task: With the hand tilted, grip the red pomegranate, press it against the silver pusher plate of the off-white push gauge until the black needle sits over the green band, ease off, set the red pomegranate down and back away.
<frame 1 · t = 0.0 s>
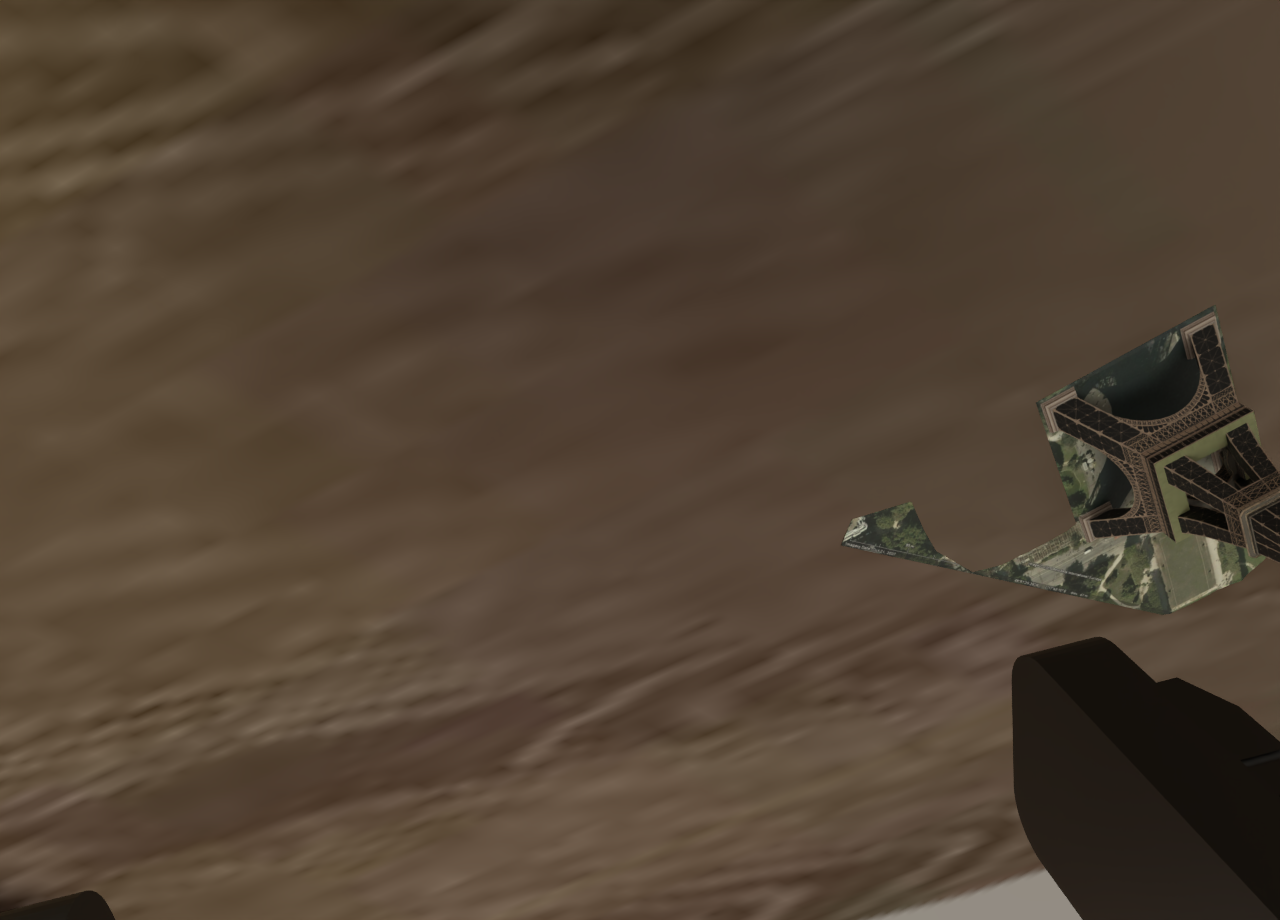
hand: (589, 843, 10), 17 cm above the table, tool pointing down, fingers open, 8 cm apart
eiffel tower figurine: (1117, 433, 31), on the table
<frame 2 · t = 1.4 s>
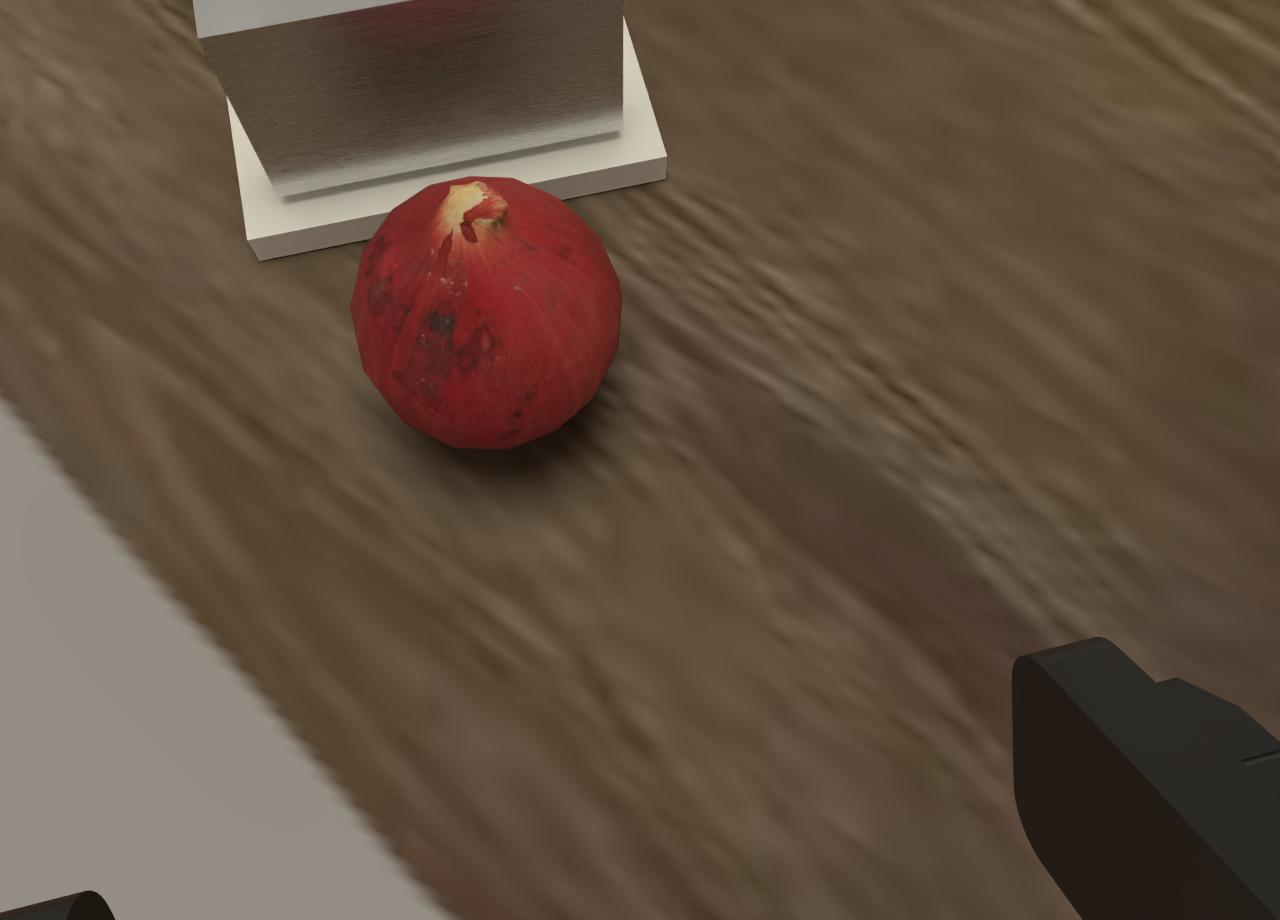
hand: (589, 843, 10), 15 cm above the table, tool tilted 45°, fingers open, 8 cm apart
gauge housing: (452, 158, 30), on the table
red pomegranate: (505, 389, 28), on the table
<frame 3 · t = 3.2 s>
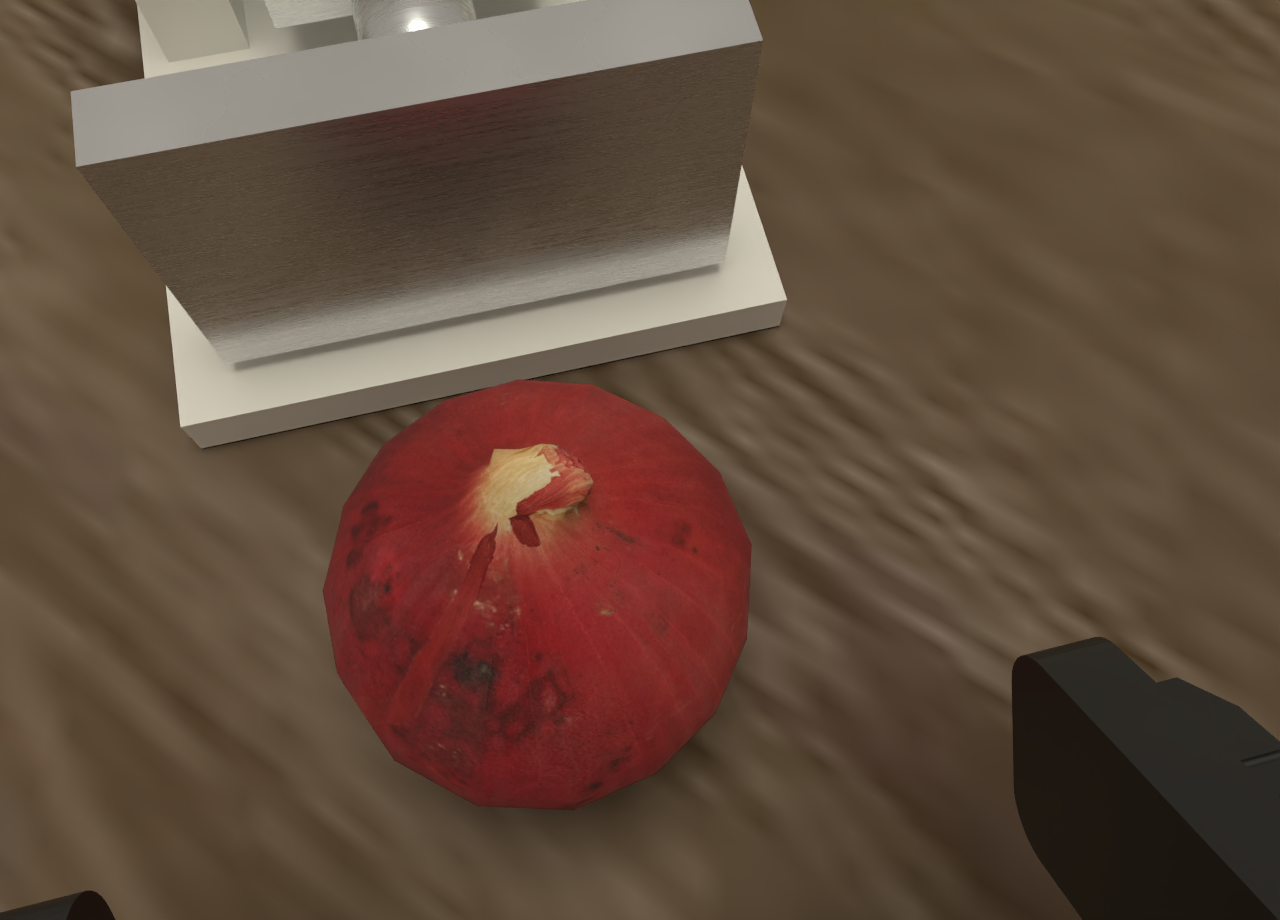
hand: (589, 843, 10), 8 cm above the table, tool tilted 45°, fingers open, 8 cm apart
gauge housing: (478, 294, 21), on the table
red pomegranate: (557, 647, 19), on the table
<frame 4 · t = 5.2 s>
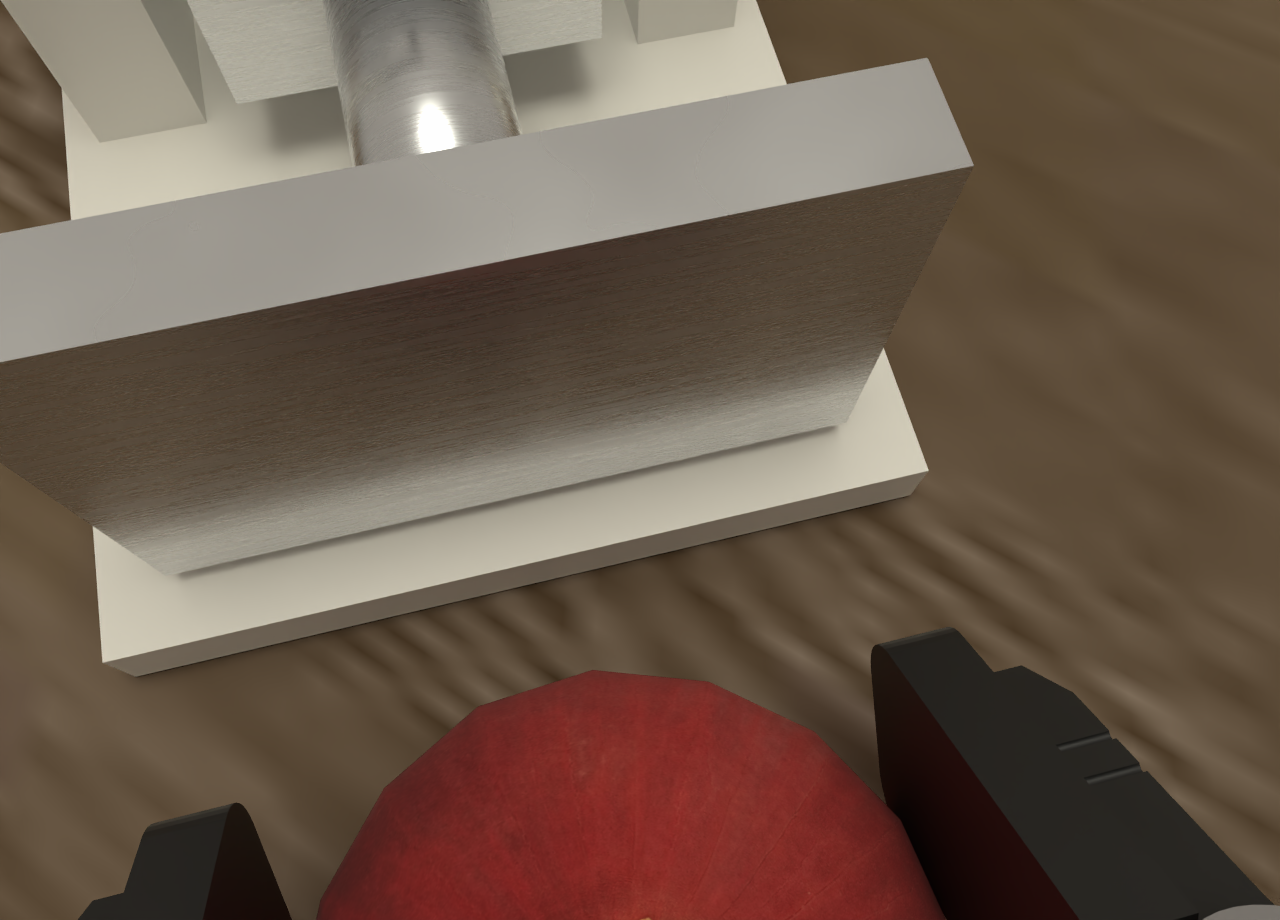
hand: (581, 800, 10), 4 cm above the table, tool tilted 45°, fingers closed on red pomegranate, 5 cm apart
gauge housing: (509, 452, 16), on the table
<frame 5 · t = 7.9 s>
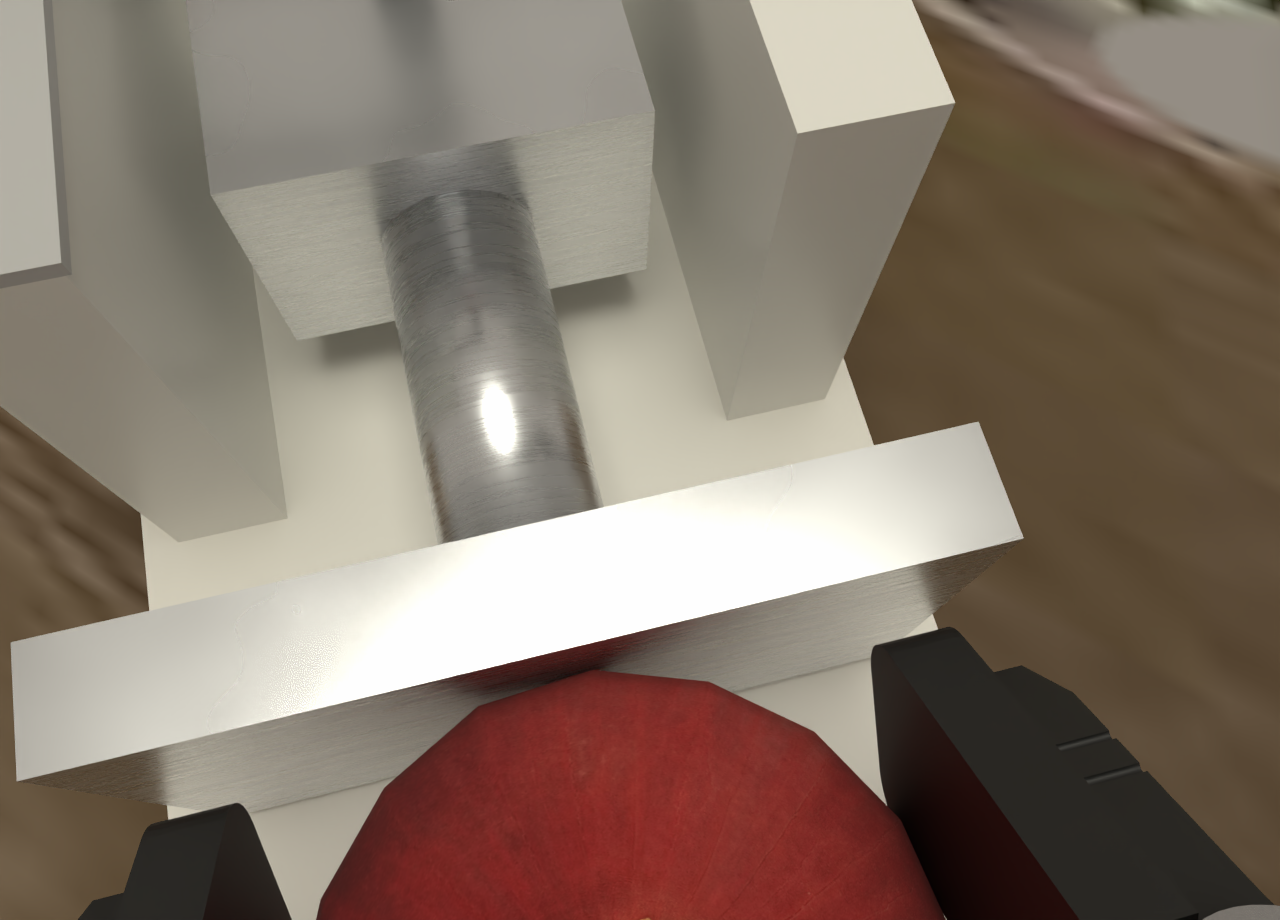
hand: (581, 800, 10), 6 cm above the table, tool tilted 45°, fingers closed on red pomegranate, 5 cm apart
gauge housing: (603, 878, 15), on the table
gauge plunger: (399, 206, 12), point 6 cm above the table, slide at 3.1 cm, touching red pomegranate
when the fingers open (5 cm above the table, at t = 10.5 s): red pomegranate stays where it is, on the table.
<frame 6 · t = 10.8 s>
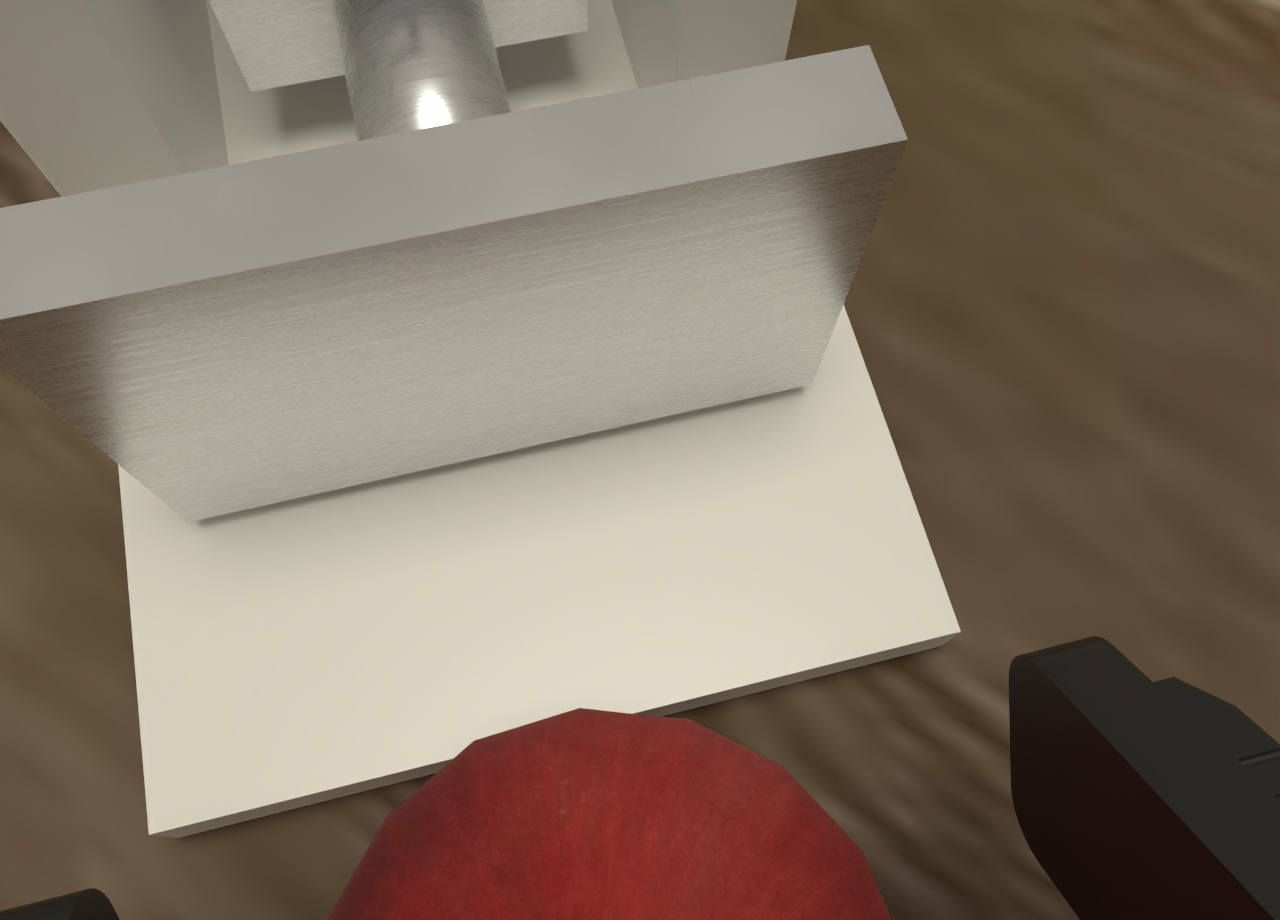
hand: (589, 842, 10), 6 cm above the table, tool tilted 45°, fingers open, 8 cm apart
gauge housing: (544, 603, 16), on the table
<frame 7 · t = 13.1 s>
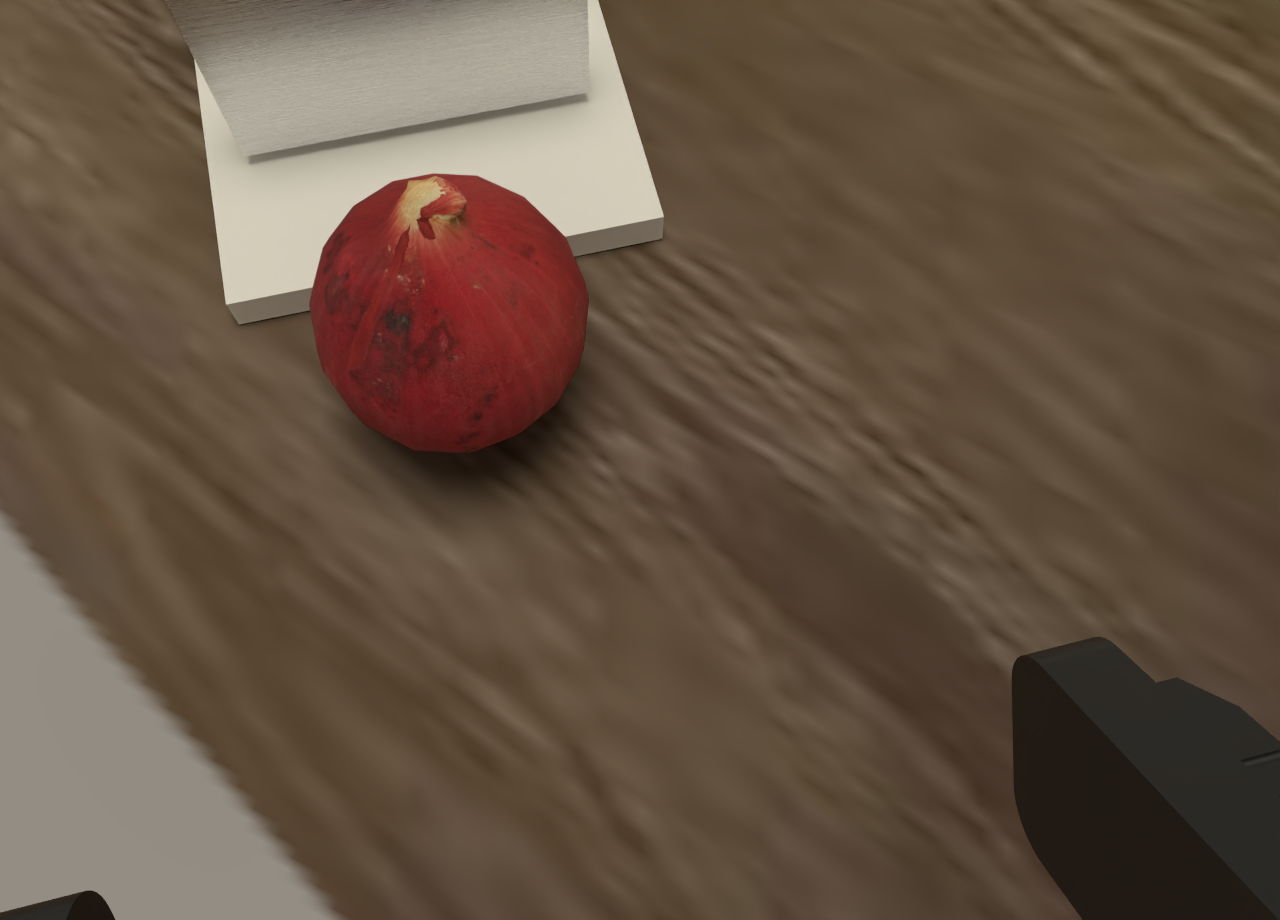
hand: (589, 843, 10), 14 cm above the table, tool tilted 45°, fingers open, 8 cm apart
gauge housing: (441, 216, 29), on the table
red pomegranate: (473, 392, 27), on the table
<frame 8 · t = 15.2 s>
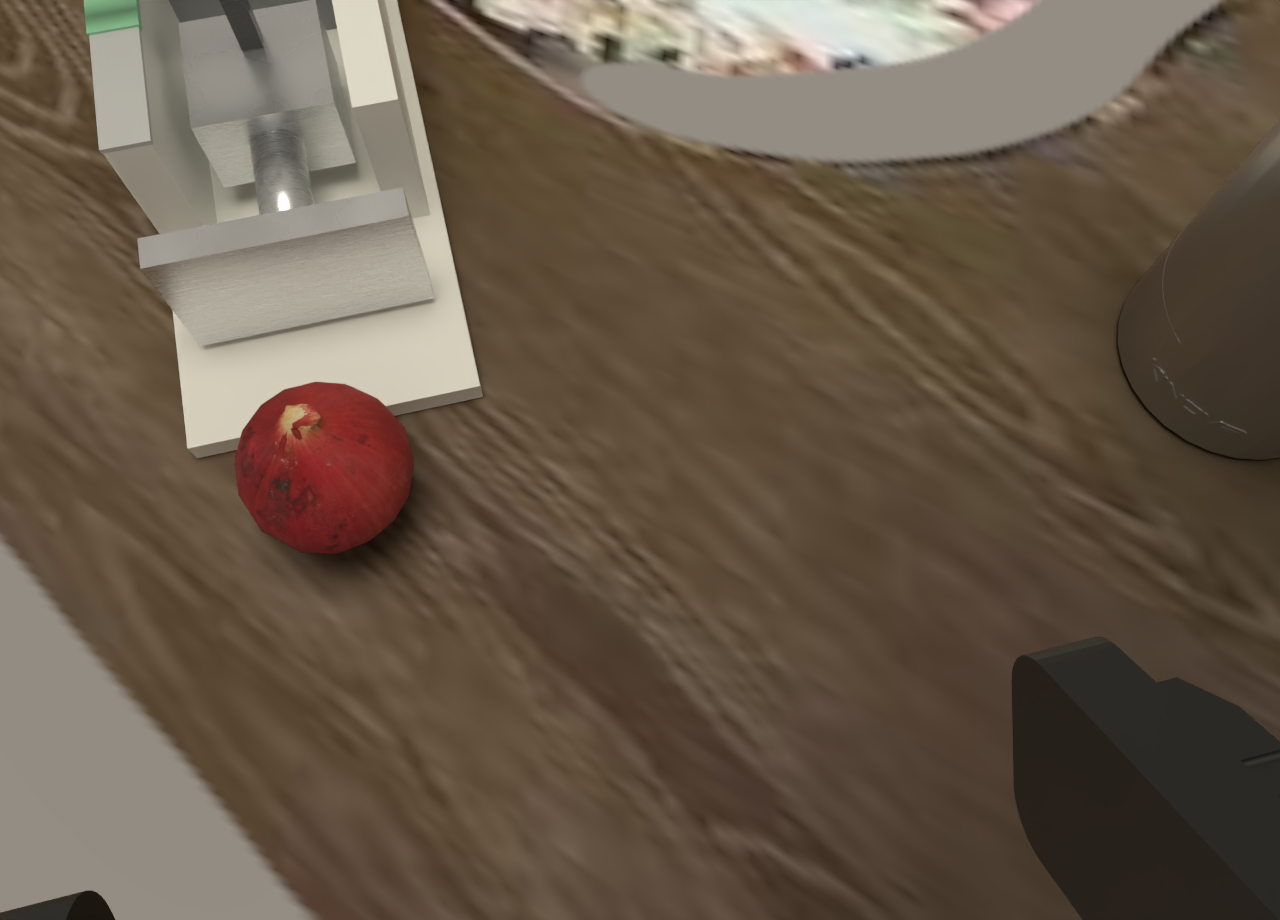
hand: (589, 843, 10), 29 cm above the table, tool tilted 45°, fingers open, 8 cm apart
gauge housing: (334, 381, 43), on the table
red pomegranate: (351, 504, 41), on the table
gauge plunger: (250, 132, 40), point 6 cm above the table, slide at 3.1 cm
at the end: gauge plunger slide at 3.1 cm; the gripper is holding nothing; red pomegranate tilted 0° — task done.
